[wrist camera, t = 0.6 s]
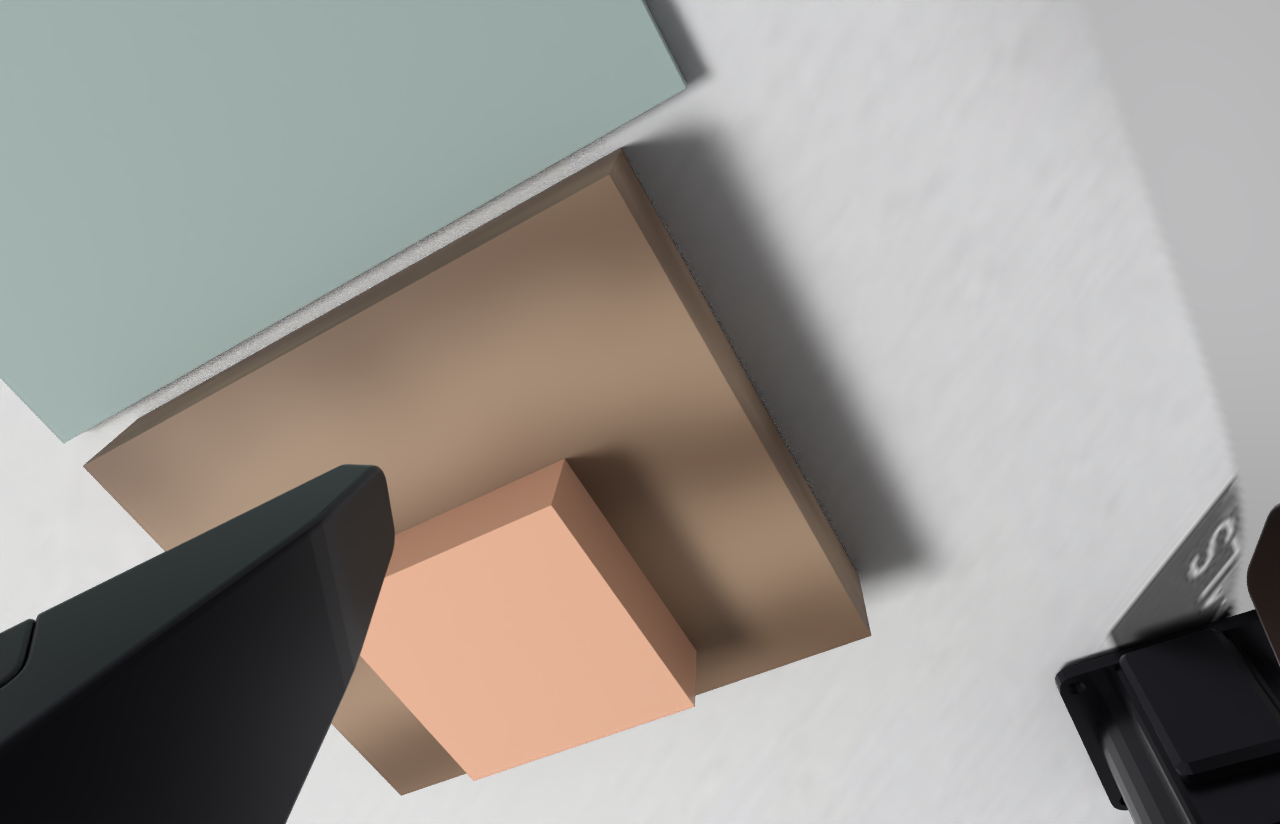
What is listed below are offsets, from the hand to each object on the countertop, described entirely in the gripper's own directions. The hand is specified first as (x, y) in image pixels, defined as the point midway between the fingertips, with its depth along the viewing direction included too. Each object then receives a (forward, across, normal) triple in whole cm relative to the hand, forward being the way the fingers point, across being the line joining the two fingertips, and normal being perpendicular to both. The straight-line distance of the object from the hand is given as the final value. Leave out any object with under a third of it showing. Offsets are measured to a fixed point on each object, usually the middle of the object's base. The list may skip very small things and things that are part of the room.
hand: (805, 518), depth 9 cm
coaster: (+11, +6, +11) cm, 16 cm away
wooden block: (+13, +7, +9) cm, 18 cm away
